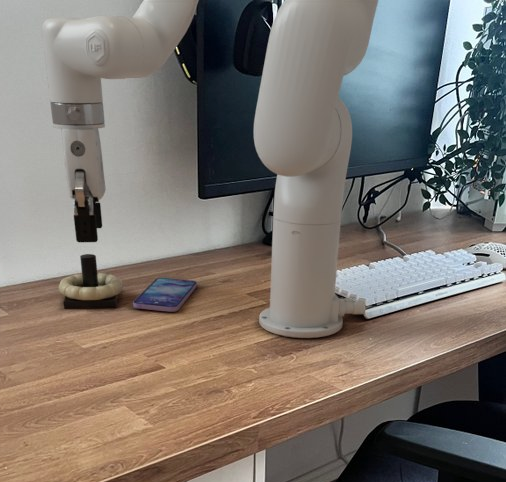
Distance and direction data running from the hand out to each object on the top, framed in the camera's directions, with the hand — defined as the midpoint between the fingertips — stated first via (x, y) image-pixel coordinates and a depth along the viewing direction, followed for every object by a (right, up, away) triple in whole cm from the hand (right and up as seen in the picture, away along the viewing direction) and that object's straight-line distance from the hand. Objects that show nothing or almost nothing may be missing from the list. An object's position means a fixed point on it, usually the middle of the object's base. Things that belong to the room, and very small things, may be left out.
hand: (90, 234), depth 110 cm
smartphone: (+12, -9, +4) cm, 15 cm away
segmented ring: (0, -8, +1) cm, 8 cm away
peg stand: (0, -10, +1) cm, 10 cm away
